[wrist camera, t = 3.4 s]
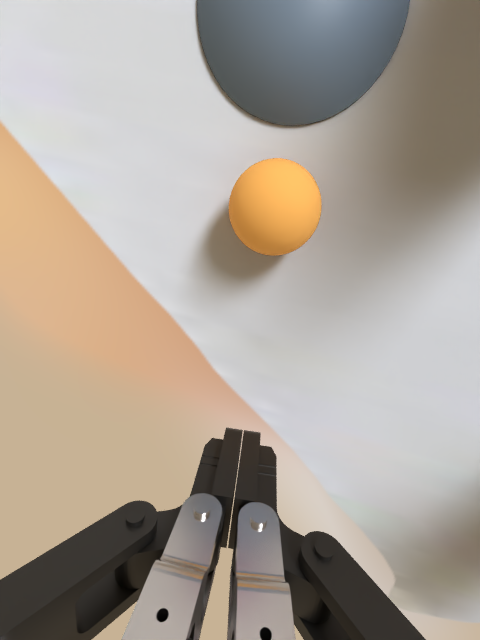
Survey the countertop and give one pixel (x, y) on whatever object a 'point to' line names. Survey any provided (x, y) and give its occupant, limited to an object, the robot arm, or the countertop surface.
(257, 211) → the ball
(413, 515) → the countertop surface
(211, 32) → the blue-gray disc
